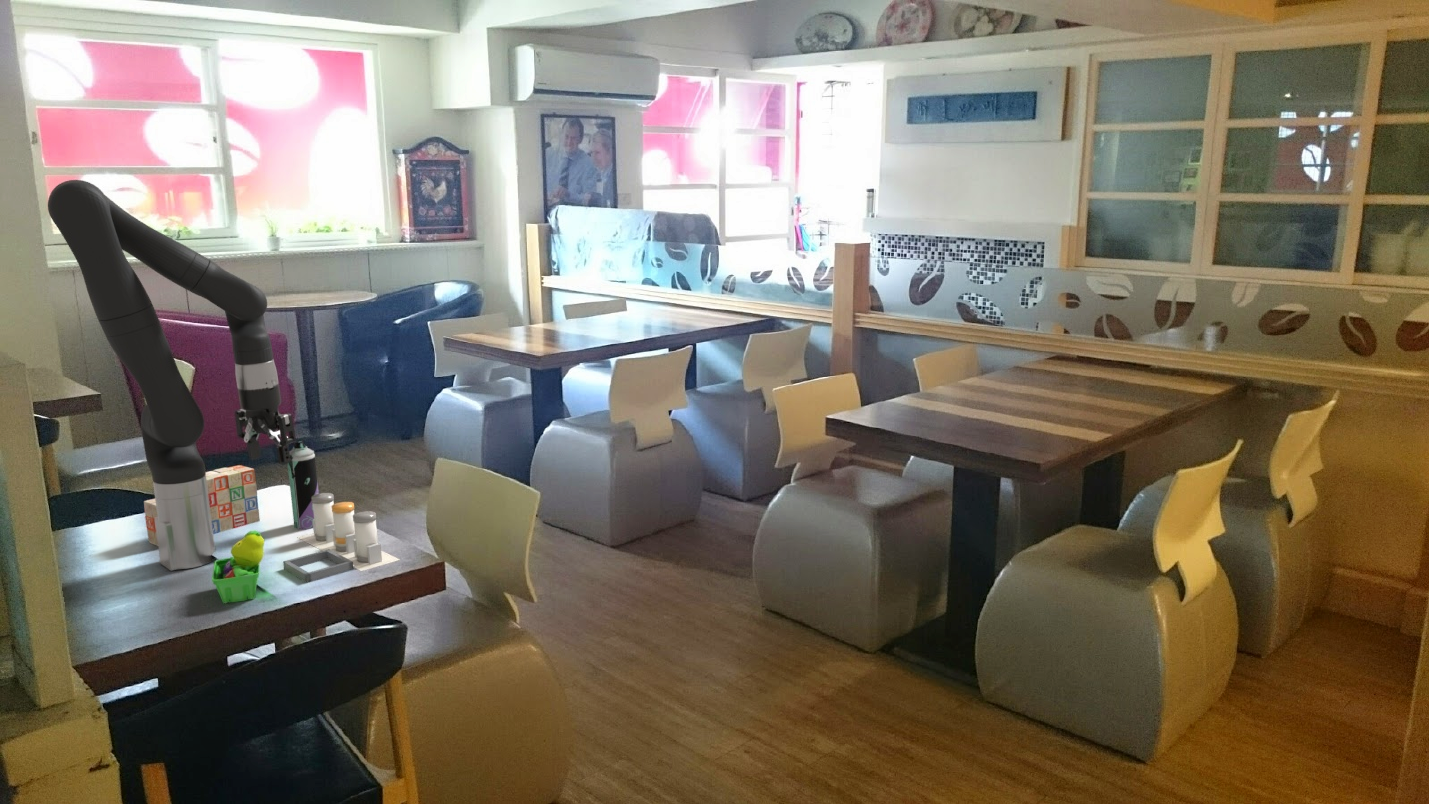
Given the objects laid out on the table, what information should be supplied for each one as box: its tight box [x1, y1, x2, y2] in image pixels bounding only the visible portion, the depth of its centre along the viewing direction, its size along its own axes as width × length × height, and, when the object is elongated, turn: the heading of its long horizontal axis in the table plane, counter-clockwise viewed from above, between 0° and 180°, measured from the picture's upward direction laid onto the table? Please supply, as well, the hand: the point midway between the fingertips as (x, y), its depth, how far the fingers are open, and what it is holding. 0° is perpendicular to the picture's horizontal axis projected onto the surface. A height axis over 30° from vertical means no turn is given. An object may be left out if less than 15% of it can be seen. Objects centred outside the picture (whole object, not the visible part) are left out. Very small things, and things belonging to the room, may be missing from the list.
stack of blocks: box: [143, 464, 261, 547], centre depth 219 cm, size 21×6×12 cm, turn 144°
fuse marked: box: [332, 501, 355, 552], centre depth 204 cm, size 4×4×9 cm
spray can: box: [287, 440, 320, 530], centre depth 217 cm, size 6×6×20 cm
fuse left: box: [312, 492, 335, 541], centre depth 210 cm, size 4×4×9 cm
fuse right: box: [353, 510, 379, 563], centre depth 197 cm, size 4×4×9 cm
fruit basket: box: [211, 530, 265, 604], centre depth 186 cm, size 11×9×11 cm
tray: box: [282, 549, 355, 583], centre depth 194 cm, size 9×10×3 cm
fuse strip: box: [297, 519, 401, 572], centre depth 204 cm, size 8×28×5 cm, turn 45°
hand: (270, 461), depth 207 cm, fingers open, 8 cm apart
